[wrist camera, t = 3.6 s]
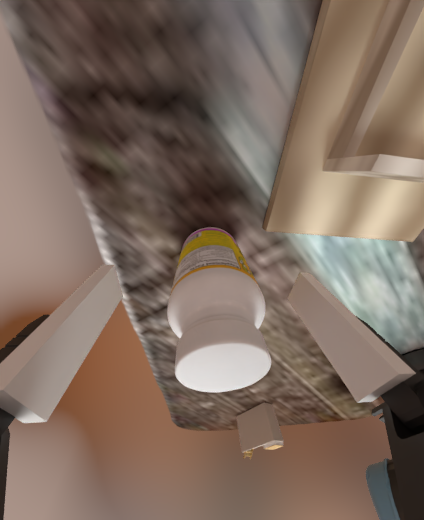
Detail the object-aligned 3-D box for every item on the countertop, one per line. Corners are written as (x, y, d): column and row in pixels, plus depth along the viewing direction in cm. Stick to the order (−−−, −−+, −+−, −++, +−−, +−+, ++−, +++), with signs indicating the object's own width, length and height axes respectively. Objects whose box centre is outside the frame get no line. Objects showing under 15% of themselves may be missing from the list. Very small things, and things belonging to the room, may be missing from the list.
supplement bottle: (232, 275, 18) (270, 398, 8) (182, 273, 17) (159, 403, 8) (241, 226, 15) (317, 327, 5) (181, 222, 14) (141, 328, 5)
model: (271, 402, 40) (285, 448, 33) (244, 415, 44) (252, 459, 37) (263, 400, 39) (276, 447, 32) (236, 414, 43) (242, 458, 36)
